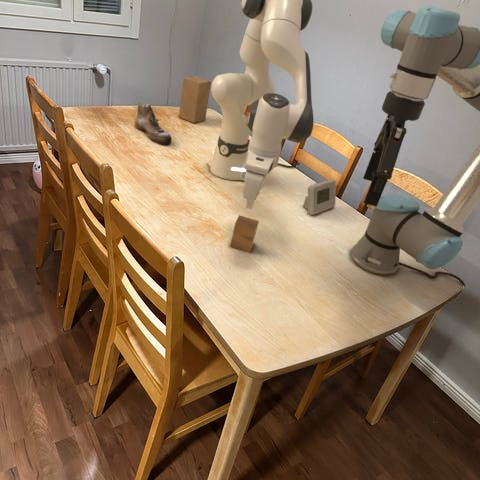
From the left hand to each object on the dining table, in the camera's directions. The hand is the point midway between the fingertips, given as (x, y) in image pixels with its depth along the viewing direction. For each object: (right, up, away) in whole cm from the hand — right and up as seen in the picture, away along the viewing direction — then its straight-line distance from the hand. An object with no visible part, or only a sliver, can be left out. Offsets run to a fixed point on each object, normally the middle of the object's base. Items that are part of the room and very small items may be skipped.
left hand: (252, 200), depth 128 cm
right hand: (+25, -1, -30) cm, 39 cm away
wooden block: (-28, +51, +99) cm, 114 cm away
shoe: (-43, +36, +70) cm, 89 cm away
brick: (-3, -13, +9) cm, 16 cm away
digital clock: (+26, 0, +40) cm, 47 cm away
